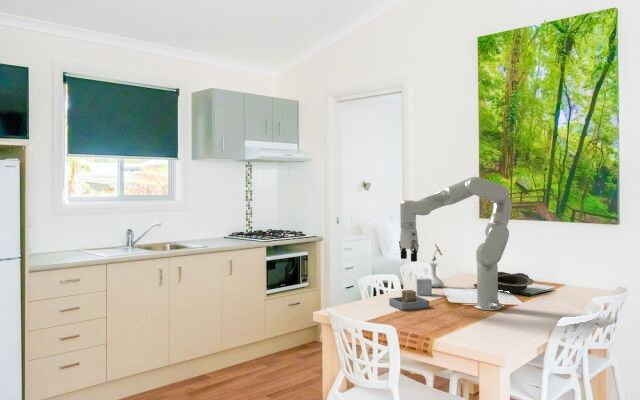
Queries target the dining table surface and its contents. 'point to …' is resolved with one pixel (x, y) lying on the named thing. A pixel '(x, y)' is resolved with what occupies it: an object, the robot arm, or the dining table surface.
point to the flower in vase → (435, 280)
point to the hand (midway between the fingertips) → (408, 260)
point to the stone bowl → (513, 282)
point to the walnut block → (408, 296)
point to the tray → (409, 303)
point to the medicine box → (424, 286)
